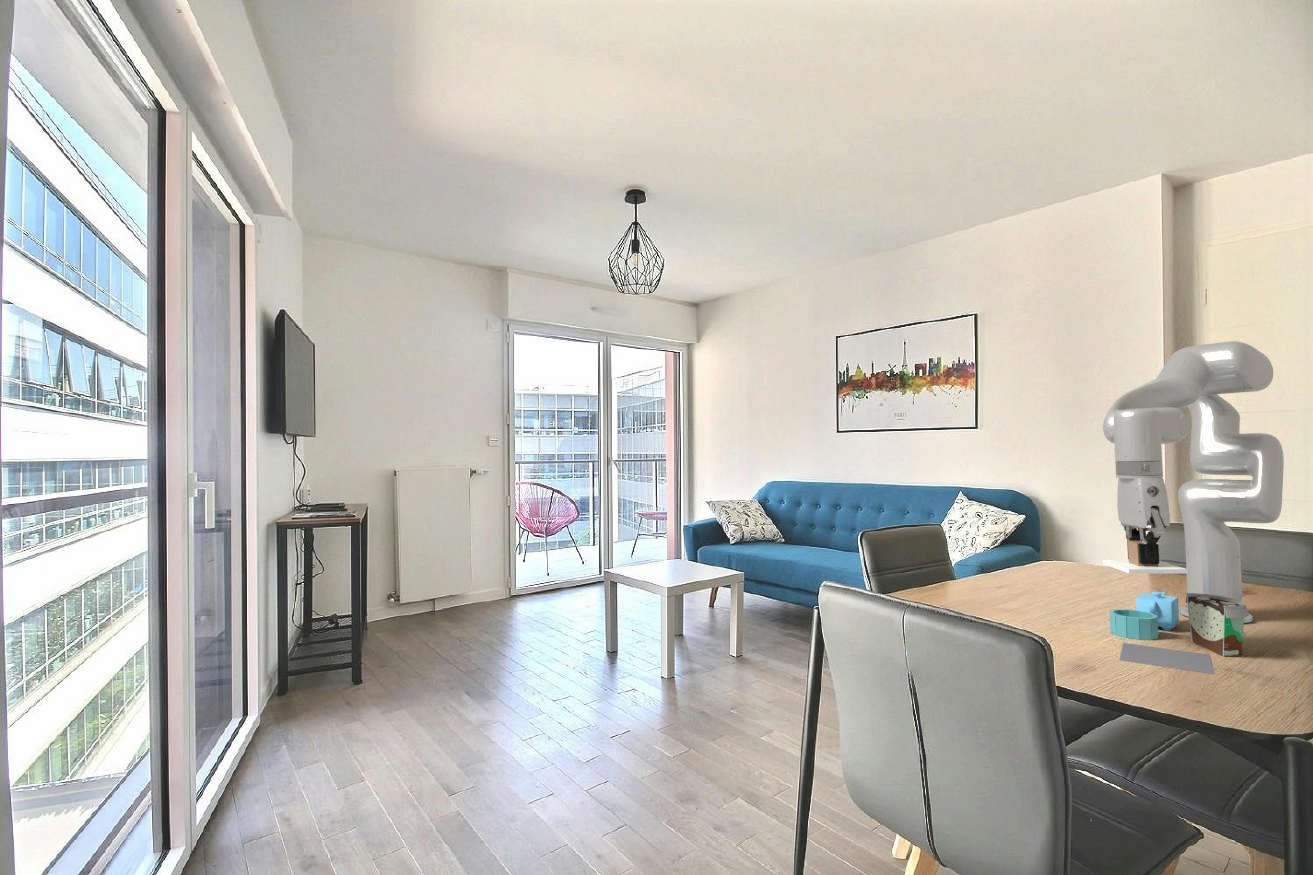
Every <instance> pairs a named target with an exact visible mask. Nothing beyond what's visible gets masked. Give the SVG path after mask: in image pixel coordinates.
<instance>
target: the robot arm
mask: <svg viewBox="0 0 1313 875" xmlns="http://www.w3.org/2000/svg"><path fill="white" fill-rule="evenodd" d="M1273 378H1274V367H1273V365H1272V362H1271V361H1270V359H1269V358H1268V357H1267V356H1266V355H1265V354H1264V353H1263V352H1261V351H1260V350H1258V349H1257V348H1255V347H1254V346H1252V345H1250V344H1248V343H1245V342H1241V341H1222V342H1215V343H1214V342H1213V343H1207V344H1198V345H1197V344H1196V345H1190V346H1186V347H1182V348H1181V349H1178V350H1176V351H1174V353H1173V354H1172V355H1171V356H1170V357H1169V359H1168V360H1167V361H1166V363H1165V364H1164V366H1163V367H1162V369H1161V370H1160V372H1159V374H1158V375H1157V376H1156V378H1155V379H1153V380H1150V381H1149V382H1147V383H1144V384H1142V385H1140V386H1138V387H1135V388H1134V389H1131V390H1130V391H1128V392H1125V393H1124V394H1122V395H1121V396H1120V397H1118V398H1117V399H1116V400H1115V401H1114V402H1113V404H1112V405H1111V407H1110V408H1109V410H1108V411H1107V413H1106V414H1105V417H1104V420H1103V424H1102V429H1103V430H1102V431H1103V434H1104V436H1105V438H1106V439H1107V441H1109V442H1110V443H1112V444H1114V459H1115V460H1114V461H1115V478H1117V479H1118V480H1117V498H1116V500H1117V503H1116V505H1117V516H1118V521H1119V522H1120V525H1121V526H1122V527H1123V530H1124V531H1125V539H1126V543H1127V544H1126V545H1127V546H1126V547H1127V549H1128V541H1141V543H1142V544H1139V561H1140V564H1159V561H1160V549H1159V548H1160V547H1159V544H1160V543H1161V539H1160V538H1161V537H1162V536H1163V534H1165V532H1166V530H1165V529H1168V528H1169V527H1170V526H1171V518H1170V517H1171V516H1170V506H1169V500H1168V498H1169V497H1168V492H1167V488H1166V484H1165V481H1164V471H1163V469H1164V468H1163V452H1162V450H1163V448H1162V445H1166V444H1167V445H1168V444H1169V445H1170V444H1177V443H1179V442H1182V441H1184V439H1186V438H1187V436H1188V435H1189V433H1190V430H1191V436H1190V448H1189V450H1190V451H1189V462H1190V466H1191V468H1192V470H1194V471H1195V472H1197V473H1199V474H1203V475H1211V476H1212V475H1213V476H1249V477H1250V476H1251V477H1252V479H1227V478H1225V479H1224V478H1223V479H1222V478H1221V479H1220V478H1216V479H1215V478H1201V479H1200V478H1199V479H1192V480H1189V481H1187V482H1185V483H1183V484H1182V485H1181V486H1180V487H1179V489H1178V491H1177V492H1178V493H1177V500H1178V505H1179V510H1180V512H1181V517H1182V522H1183V528H1184V544H1185V546H1184V547H1185V548H1184V549H1185V566H1186V567H1185V569H1188V574H1186V590H1187V591H1186V594H1187V593H1198V594H1209V595H1217V596H1223V597H1228V598H1233V599H1237V600H1240V601H1242V602H1243V587H1242V586H1243V585H1242V563H1241V561H1242V560H1241V543H1240V540H1239V538H1238V536H1237V535H1236V533H1234V531H1233V530H1232V529H1231V528H1230V527H1229V526H1228V525H1227V524H1226V523H1243V524H1244V523H1245V524H1247V523H1248V524H1270V523H1274V522H1275V521H1277V520H1278V519H1279V517H1280V516H1281V513H1282V509H1283V508H1282V507H1283V489H1284V488H1283V484H1284V463H1285V462H1284V460H1285V459H1284V456H1285V455H1284V451H1283V446H1282V444H1281V442H1280V440H1279V439H1278V438H1277V437H1276V436H1274V435H1272V434H1269V433H1263V432H1259V433H1258V432H1253V433H1252V432H1251V433H1240V427H1241V425H1240V424H1241V421H1240V420H1241V415H1240V413H1239V411H1238V410H1237V409H1236V408H1235V407H1234V406H1233V404H1231V403H1230V402H1228V401H1226V399H1224V398H1223V397H1221V396H1220V395H1224V394H1225V395H1227V394H1238V393H1239V394H1240V393H1241V394H1242V393H1252V392H1253V393H1254V392H1255V393H1256V392H1260V391H1263V390H1265V389H1267V388H1268V387H1269V386H1271V383H1272V381H1273ZM1184 408H1188V410H1189V412H1190V414H1191V419H1190V418H1189V416H1188V414H1187V413H1186V412H1185V411H1183V410H1182V409H1184ZM1191 423H1192V424H1191ZM1148 526H1150V527H1148ZM1146 532H1147V533H1146ZM1127 560H1129V555H1128V554H1127ZM1179 613H1180V614H1181V615H1183V616H1186V617H1188V618H1189V613H1188V605H1183V606H1182V605H1181V606H1180V607H1179ZM1252 622H1253V615H1252V614H1251V613H1249V616H1247V617H1244V624H1248V623H1252Z"/></svg>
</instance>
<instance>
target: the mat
mask: <svg viewBox="0 0 1313 875" xmlns="http://www.w3.org/2000/svg"><path fill="white" fill-rule="evenodd" d="M1119 661H1123V662H1130V663H1134V664H1135V663H1137V664H1142V665H1143V664H1144V665H1149V666H1155V667H1162V668H1168V669H1176V670H1182V671H1189V672H1194V673H1195V672H1196V673H1202V674H1209V675H1215V674H1214V673H1215V672H1214V669H1213V663H1212V658H1211V655H1210V654H1208V653H1200V652H1194V651H1187V650H1185V651H1184V650H1178V649H1170V648H1162V647H1157V646H1149V645H1142V644H1141V645H1140V644H1135V643H1128V642H1123V643H1122V646H1121V651H1120V656H1119Z"/></svg>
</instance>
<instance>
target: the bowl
mask: <svg viewBox="0 0 1313 875" xmlns="http://www.w3.org/2000/svg"><path fill="white" fill-rule="evenodd" d="M1109 626H1110V629H1109V630H1110V633H1111V634H1113V635H1115V636H1118V637H1122V638H1127V639H1132V640H1133V639H1134V640H1140V641H1141V640H1144V641H1145V640H1147V641H1151V640H1156V639H1157V640H1158V639H1159V626H1158V616H1157V615H1155V614H1153V613H1149V612H1144V611H1138V610H1136V609H1129V608H1126V609H1125V608H1123V609H1122V608H1116V609H1110V611H1109Z"/></svg>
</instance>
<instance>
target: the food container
mask: <svg viewBox="0 0 1313 875" xmlns="http://www.w3.org/2000/svg"><path fill="white" fill-rule="evenodd" d="M1185 604H1187V606H1188V613H1189V617H1188V622H1189V628H1190V629H1189V631H1190V641H1191V642H1192V643H1194V644H1195V645H1197V646H1200V647H1202V648H1204V649H1207V650H1209V651H1210V652H1212V653H1215V654H1217V655H1219V656H1222V658H1233V657H1240V656H1242V654H1243V639H1244V638H1243V637H1244V624H1245V623H1244V617H1247V616H1249V614H1250V613H1249V611H1248V607H1247V606H1246V605H1245V601H1243V600H1242V601H1240V600H1237V599H1233V598H1228V597H1223V596H1217V595H1209V594H1198V593H1187V592H1186V595H1185Z"/></svg>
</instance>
